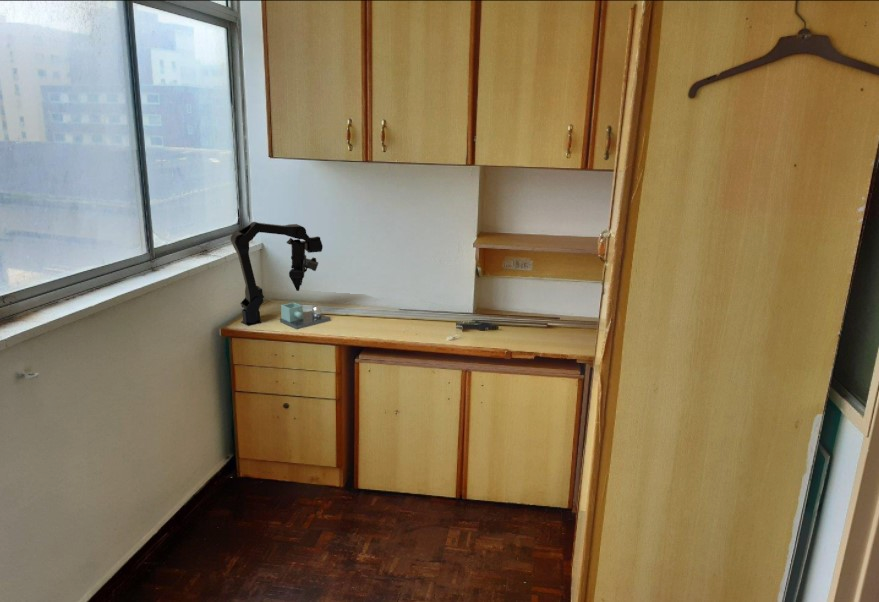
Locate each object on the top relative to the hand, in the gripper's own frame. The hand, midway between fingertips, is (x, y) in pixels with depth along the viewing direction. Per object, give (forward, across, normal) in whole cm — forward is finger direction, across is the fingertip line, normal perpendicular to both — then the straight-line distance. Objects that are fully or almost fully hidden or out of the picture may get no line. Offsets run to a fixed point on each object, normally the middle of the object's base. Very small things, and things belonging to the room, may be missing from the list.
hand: (299, 288), depth 285 cm
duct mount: (+12, -10, -3) cm, 16 cm away
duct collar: (+11, -11, +1) cm, 16 cm away
